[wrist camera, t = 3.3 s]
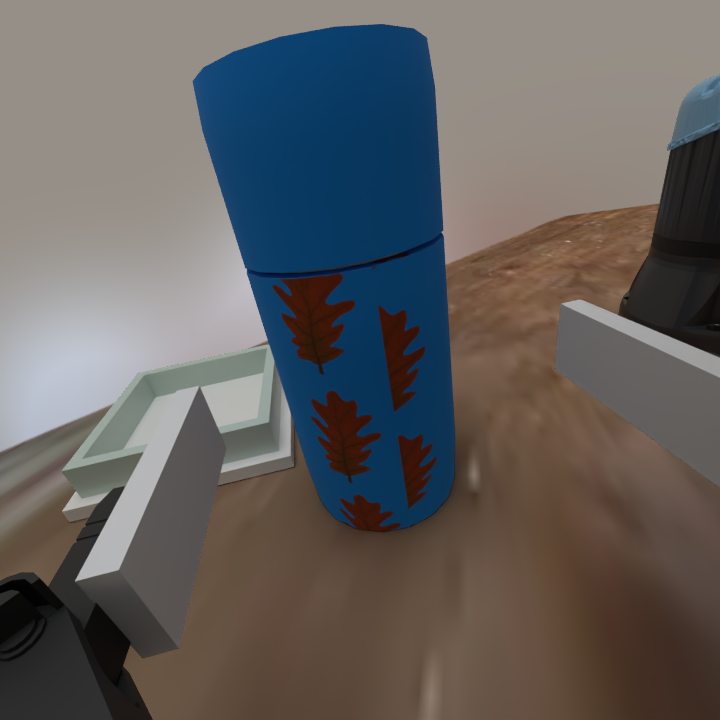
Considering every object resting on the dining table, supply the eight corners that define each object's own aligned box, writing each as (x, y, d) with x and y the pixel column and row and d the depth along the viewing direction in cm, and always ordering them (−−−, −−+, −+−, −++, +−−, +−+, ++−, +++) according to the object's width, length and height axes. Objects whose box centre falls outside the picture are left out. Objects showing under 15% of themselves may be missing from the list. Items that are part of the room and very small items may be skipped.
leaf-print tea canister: (352, 419, 35) (283, 104, 23) (468, 436, 30) (454, 53, 19) (288, 511, 26) (130, 90, 15) (435, 555, 22) (372, -8, 10)
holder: (293, 367, 46) (284, 337, 44) (294, 466, 30) (280, 426, 28) (148, 400, 45) (132, 371, 43) (70, 522, 29) (40, 484, 27)
